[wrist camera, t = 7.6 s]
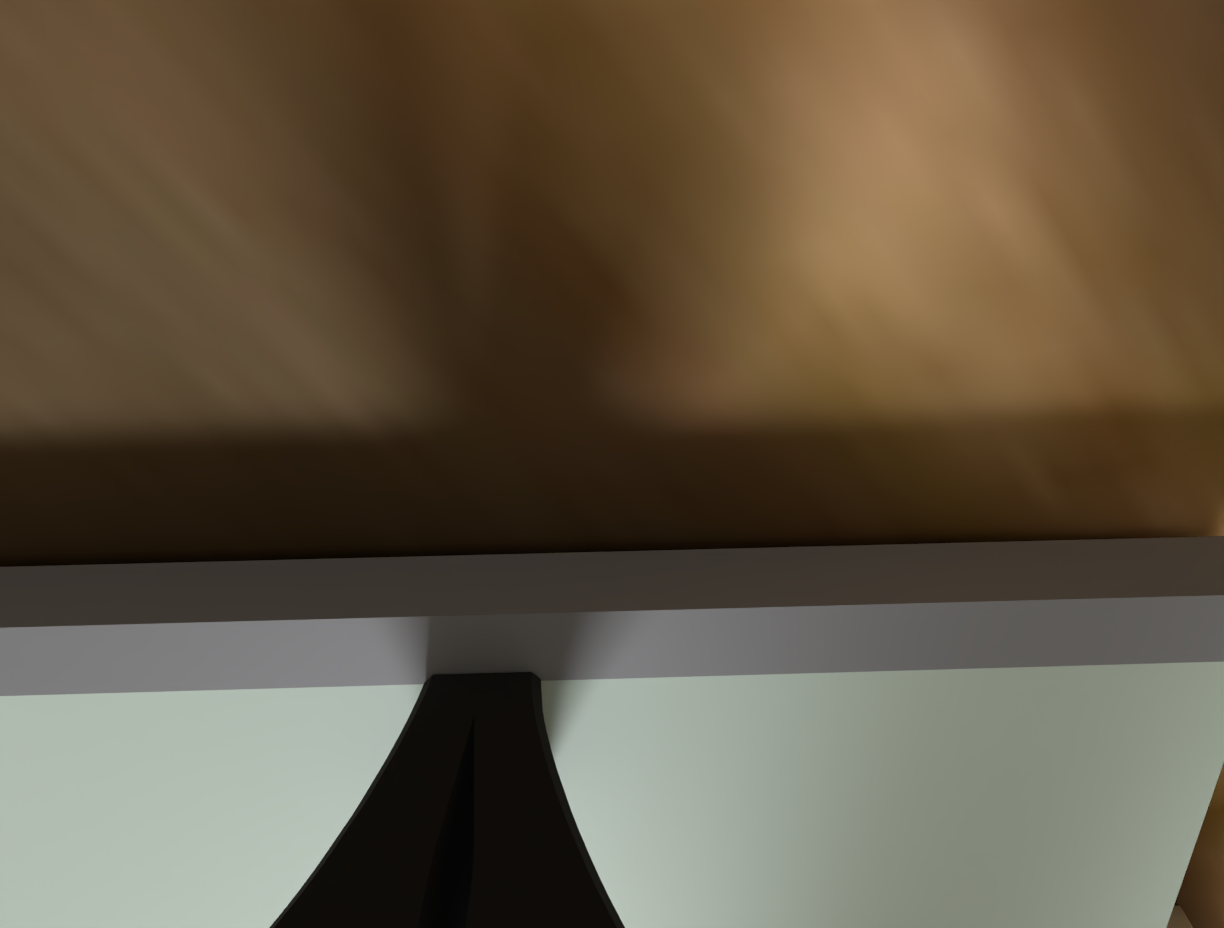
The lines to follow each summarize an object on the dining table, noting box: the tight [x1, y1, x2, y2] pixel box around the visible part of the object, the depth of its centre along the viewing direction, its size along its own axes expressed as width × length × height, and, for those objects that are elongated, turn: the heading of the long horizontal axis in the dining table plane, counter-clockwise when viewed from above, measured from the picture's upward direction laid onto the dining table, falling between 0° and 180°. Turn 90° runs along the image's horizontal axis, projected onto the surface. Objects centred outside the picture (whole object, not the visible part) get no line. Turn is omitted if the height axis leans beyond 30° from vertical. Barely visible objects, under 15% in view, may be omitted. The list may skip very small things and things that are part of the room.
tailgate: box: [0, 536, 1224, 928], centre depth 15 cm, size 1×19×7 cm
